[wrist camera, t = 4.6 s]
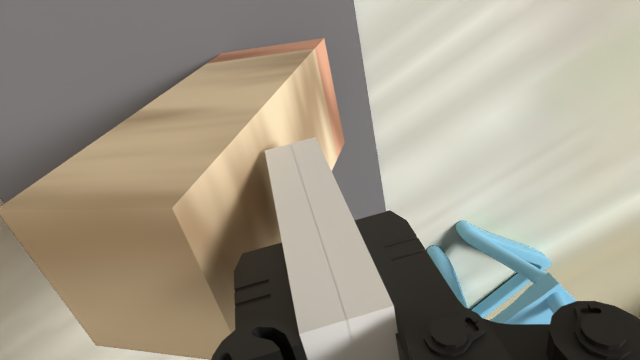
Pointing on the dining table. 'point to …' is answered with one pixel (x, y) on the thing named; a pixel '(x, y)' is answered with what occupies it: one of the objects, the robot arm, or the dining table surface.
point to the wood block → (177, 200)
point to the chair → (533, 302)
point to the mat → (158, 74)
